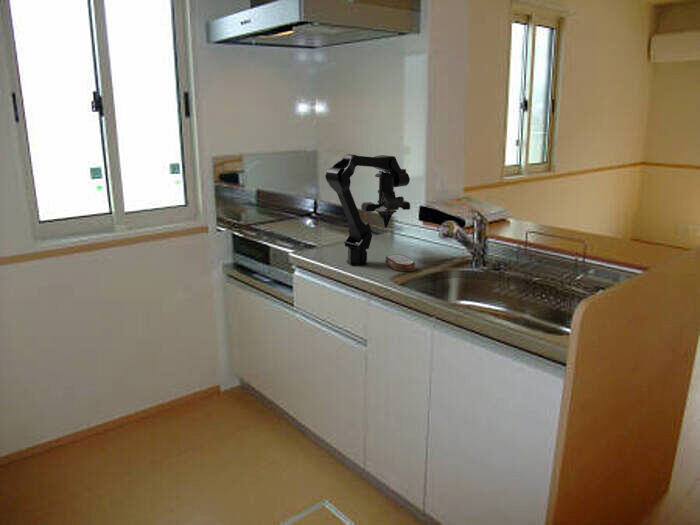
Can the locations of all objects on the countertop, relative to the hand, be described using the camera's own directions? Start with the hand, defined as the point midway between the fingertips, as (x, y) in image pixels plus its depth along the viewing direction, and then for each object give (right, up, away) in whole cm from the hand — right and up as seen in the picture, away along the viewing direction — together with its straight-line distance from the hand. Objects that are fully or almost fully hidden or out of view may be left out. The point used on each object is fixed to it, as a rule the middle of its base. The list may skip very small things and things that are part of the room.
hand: (385, 227), depth 216 cm
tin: (+9, -13, -9) cm, 18 cm away
